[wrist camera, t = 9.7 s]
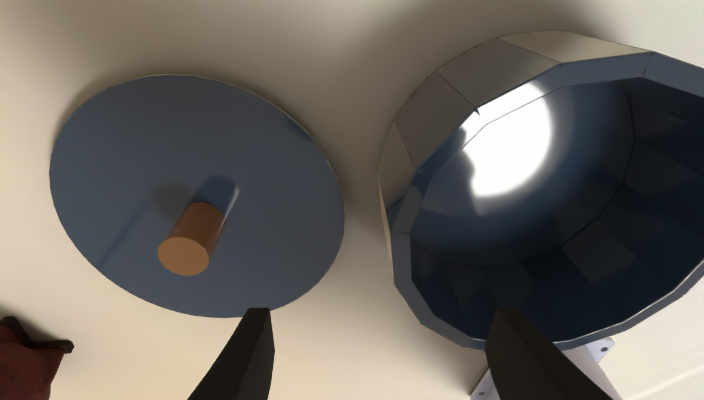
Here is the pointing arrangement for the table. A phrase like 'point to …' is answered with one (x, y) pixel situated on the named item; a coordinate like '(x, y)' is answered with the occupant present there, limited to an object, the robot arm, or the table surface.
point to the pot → (546, 188)
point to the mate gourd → (27, 363)
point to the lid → (197, 195)
